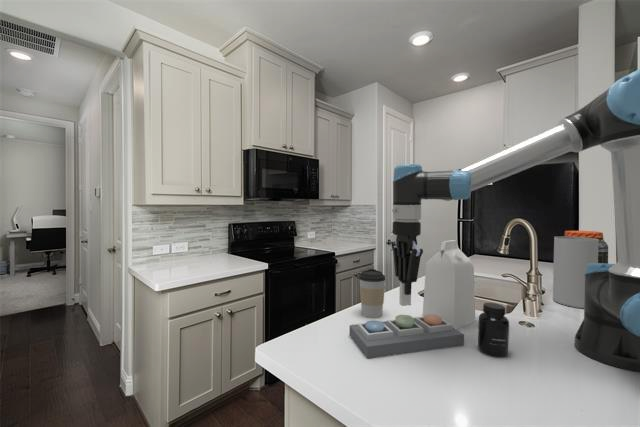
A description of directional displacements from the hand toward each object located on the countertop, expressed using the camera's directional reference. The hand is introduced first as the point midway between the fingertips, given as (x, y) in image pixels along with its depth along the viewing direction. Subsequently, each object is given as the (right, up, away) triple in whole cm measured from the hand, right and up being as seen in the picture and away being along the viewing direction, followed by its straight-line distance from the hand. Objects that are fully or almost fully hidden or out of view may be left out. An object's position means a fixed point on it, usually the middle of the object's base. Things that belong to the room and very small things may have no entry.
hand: (405, 304), depth 81 cm
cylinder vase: (+73, -9, +29) cm, 79 cm away
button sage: (0, -5, 0) cm, 5 cm away
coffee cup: (-6, -10, +19) cm, 22 cm away
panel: (0, -10, 0) cm, 10 cm away
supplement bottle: (+21, -10, -6) cm, 24 cm away
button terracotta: (+9, -6, +2) cm, 11 cm away
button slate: (-9, -6, -2) cm, 11 cm away
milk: (+19, -10, +15) cm, 26 cm away
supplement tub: (+92, -8, +46) cm, 103 cm away
